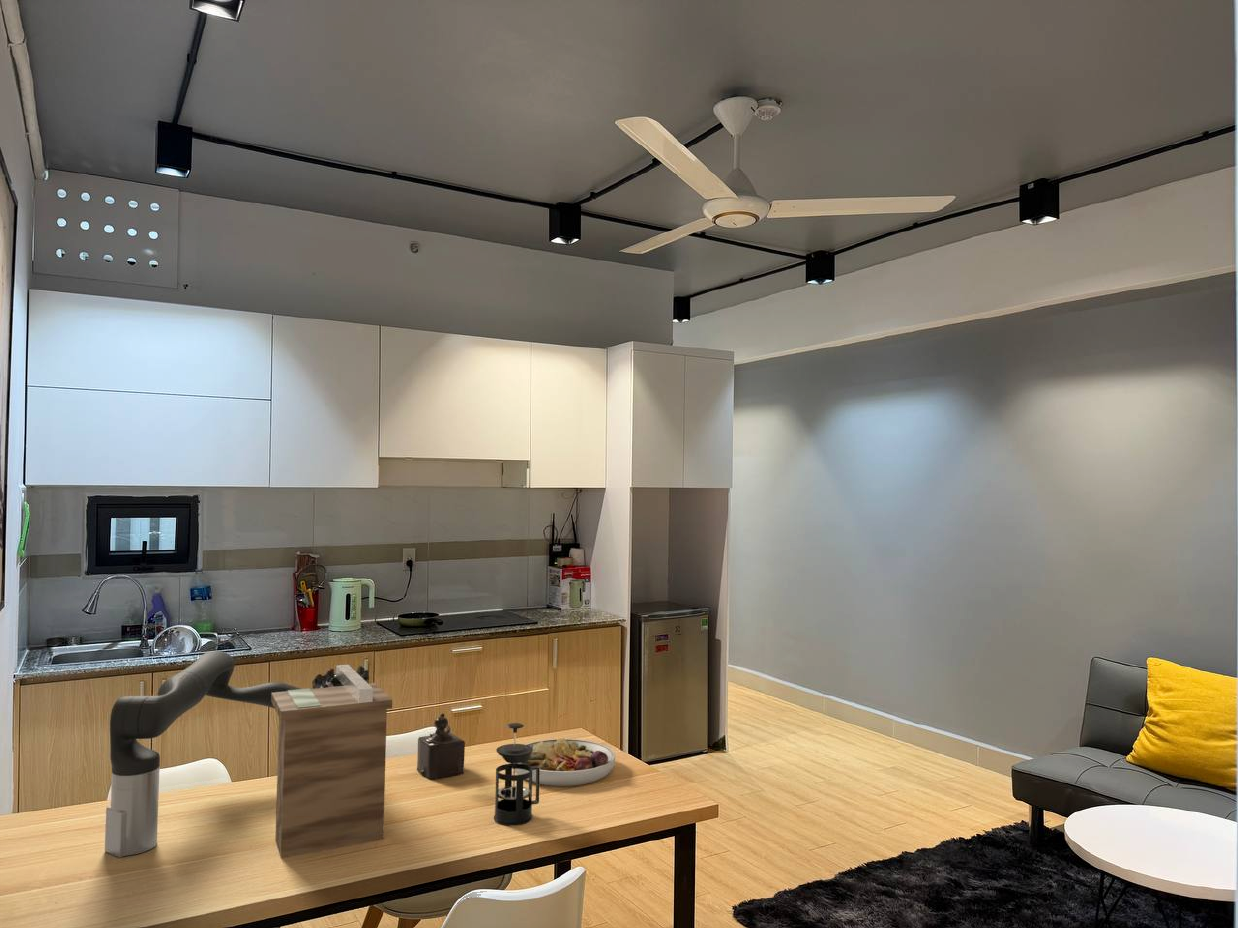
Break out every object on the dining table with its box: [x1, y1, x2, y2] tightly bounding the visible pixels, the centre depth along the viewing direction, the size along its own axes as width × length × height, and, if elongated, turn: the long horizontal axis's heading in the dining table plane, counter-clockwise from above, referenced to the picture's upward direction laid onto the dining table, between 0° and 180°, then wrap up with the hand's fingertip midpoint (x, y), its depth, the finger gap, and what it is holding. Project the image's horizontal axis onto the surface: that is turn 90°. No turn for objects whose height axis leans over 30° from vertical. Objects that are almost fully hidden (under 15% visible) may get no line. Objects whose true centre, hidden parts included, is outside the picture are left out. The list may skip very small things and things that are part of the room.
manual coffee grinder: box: [416, 712, 466, 780], centre depth 235 cm, size 16×11×18 cm
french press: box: [493, 722, 540, 827], centre depth 205 cm, size 12×9×23 cm
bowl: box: [515, 737, 616, 787], centre depth 240 cm, size 30×30×8 cm
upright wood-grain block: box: [271, 682, 393, 859], centre depth 193 cm, size 18×24×32 cm
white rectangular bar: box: [335, 664, 373, 703], centre depth 201 cm, size 28×3×3 cm, turn 29°
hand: (347, 671), depth 208 cm, fingers open, 6 cm apart
